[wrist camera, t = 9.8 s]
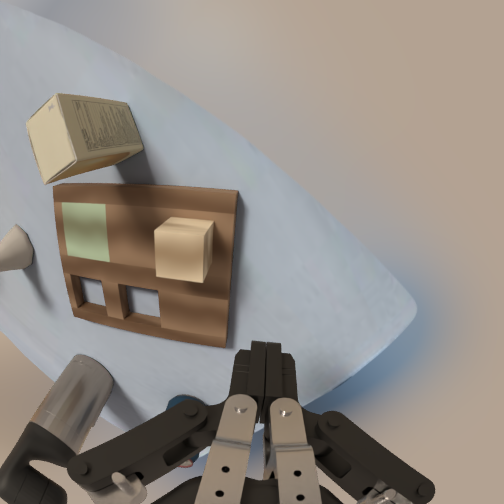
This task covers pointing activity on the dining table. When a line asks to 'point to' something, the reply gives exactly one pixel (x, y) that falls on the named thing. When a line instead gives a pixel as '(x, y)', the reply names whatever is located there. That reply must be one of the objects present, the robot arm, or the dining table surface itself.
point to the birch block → (184, 249)
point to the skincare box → (81, 135)
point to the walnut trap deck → (145, 256)
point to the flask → (15, 250)
